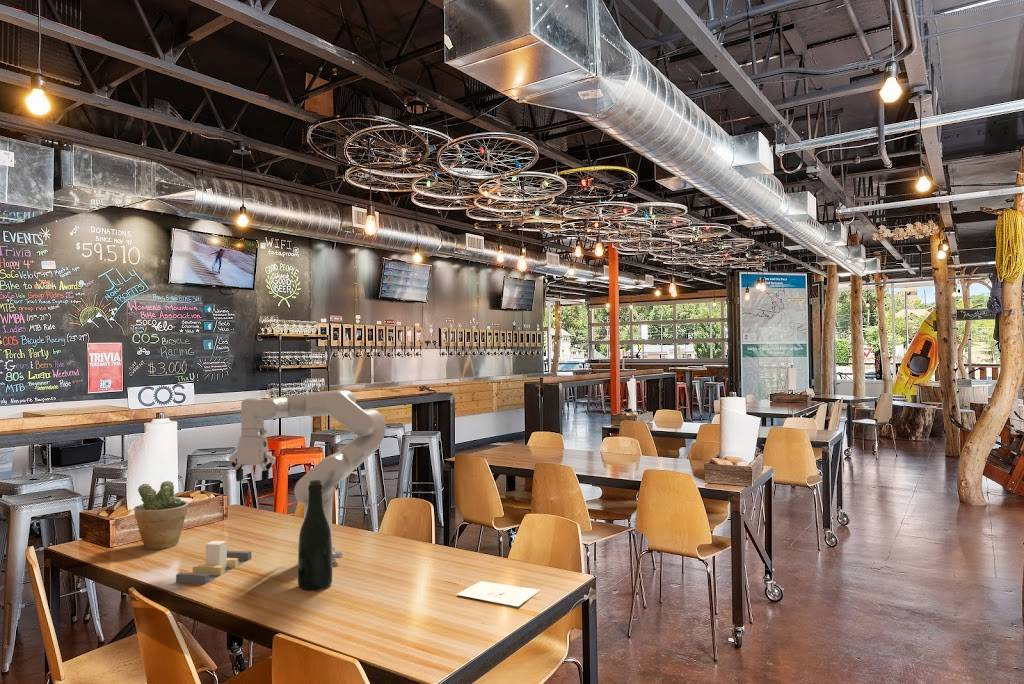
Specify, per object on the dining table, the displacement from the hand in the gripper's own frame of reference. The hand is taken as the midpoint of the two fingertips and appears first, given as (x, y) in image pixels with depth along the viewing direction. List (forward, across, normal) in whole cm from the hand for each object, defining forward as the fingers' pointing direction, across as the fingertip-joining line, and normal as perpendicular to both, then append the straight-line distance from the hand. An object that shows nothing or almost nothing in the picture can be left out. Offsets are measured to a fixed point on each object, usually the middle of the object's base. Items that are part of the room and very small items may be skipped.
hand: (252, 480), depth 226 cm
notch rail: (+28, +4, +15) cm, 32 cm away
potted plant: (+28, +46, -14) cm, 56 cm away
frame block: (+27, +4, +15) cm, 31 cm away
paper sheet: (+29, -95, +15) cm, 100 cm away
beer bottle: (+28, -34, +21) cm, 49 cm away
